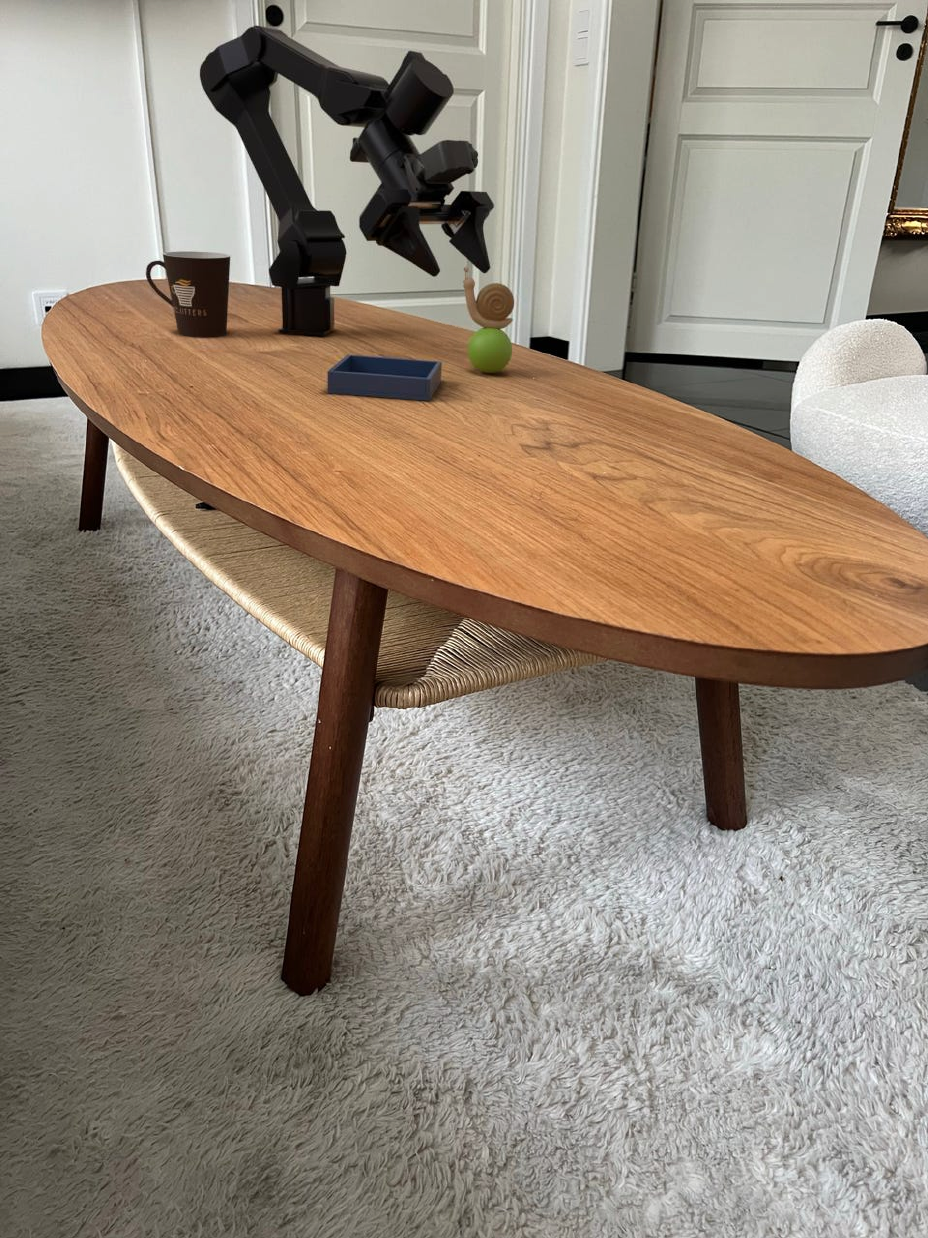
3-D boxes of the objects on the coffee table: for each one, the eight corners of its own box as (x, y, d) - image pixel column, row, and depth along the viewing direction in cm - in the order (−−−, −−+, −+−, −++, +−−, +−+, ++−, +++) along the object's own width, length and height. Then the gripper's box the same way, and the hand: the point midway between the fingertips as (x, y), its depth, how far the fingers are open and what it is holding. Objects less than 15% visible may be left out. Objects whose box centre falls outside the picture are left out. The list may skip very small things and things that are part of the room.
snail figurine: (456, 367, 113) (461, 264, 107) (507, 369, 113) (515, 267, 108) (459, 376, 108) (465, 269, 102) (513, 378, 108) (521, 272, 103)
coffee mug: (247, 335, 124) (243, 257, 120) (192, 340, 118) (185, 258, 114) (200, 322, 131) (194, 248, 126) (145, 327, 125) (138, 249, 121)
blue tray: (327, 393, 96) (327, 371, 95) (347, 374, 105) (347, 354, 104) (429, 401, 96) (430, 379, 95) (440, 381, 104) (441, 361, 103)
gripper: (377, 104, 97) (449, 224, 96) (487, 118, 110) (551, 224, 109) (328, 182, 105) (394, 293, 104) (436, 186, 118) (496, 285, 117)
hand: (463, 272), depth 108 cm, fingers open, 9 cm apart
